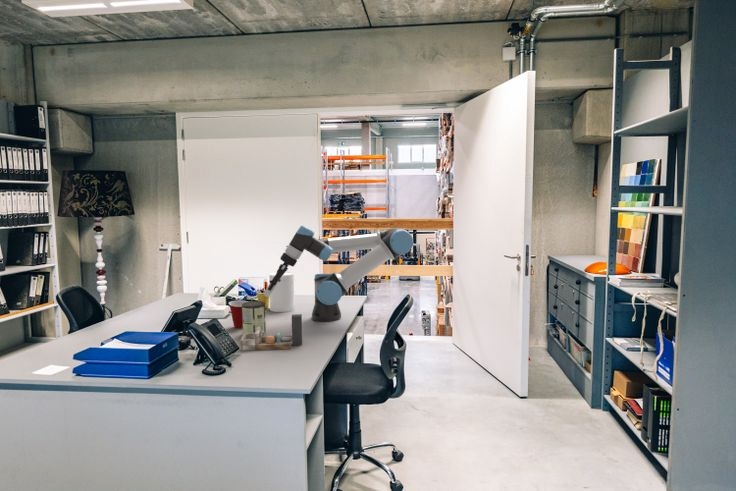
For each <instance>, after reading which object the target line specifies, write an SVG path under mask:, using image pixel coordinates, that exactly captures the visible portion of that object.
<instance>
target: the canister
mask: <svg viewBox="0 0 736 491" xmlns="http://www.w3.org/2000/svg"><path fill="white" fill-rule="evenodd" d="M276 273H277V271H275V272H271V273H269V277H268V278H269V281H270V280H272V279H273V278H274V276H275V275H276ZM280 280H281V281H280V282H278V283H277V285H276V287H275V288H274V290H273V291H272V293H271V294H270V295H269V310H270V312H273V313H274V312H275V313H286V312H291V311H294V310H295V309H296V308H295V307H296V305H295V304H296V302H295V301H296V299H295V293H296V292H295V272H291V271H286V272H285V273H284V275H282V277H281V278H280Z"/></svg>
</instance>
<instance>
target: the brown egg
mask: <svg viewBox="0 0 736 491" xmlns="http://www.w3.org/2000/svg"><path fill="white" fill-rule="evenodd" d="M273 336H274V335H268V337H267V336H266V337H267V338H266V342H265V344H276V342H275V338H274V337H273Z"/></svg>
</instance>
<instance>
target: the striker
mask: <svg viewBox="0 0 736 491" xmlns="http://www.w3.org/2000/svg"><path fill="white" fill-rule="evenodd" d="M302 316H303V315H302V313H299V314H298V313H297V314H295V313H294V314H291V336H292V337H281V336H282V335H281V334H282V333H281V332H277V334H276V336H277V342H276V344H281V343H282V342H285V341H284V340H292V341H291V343H292V344H291V345H292V346H297V345H298V346H299V345H303V318H302Z"/></svg>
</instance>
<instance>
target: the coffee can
mask: <svg viewBox="0 0 736 491" xmlns="http://www.w3.org/2000/svg"><path fill="white" fill-rule="evenodd" d="M242 316H243V328H242V333H243V334H244V333H255V332H256V330H257V328H258V327H261V332H262V336H265V335H266V334H267V331H266V330H267V329H266V328H267V327H266V302H264V301H259V300H254V301H248V302H245V303H243V304H242ZM243 334H242V335H243Z"/></svg>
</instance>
